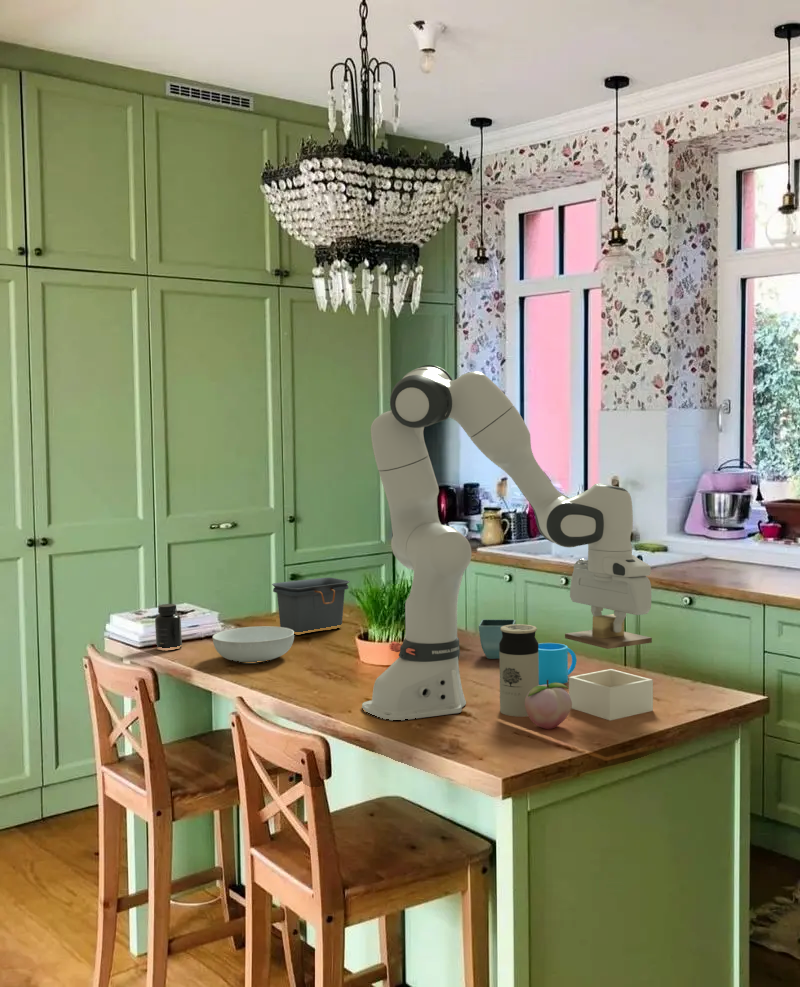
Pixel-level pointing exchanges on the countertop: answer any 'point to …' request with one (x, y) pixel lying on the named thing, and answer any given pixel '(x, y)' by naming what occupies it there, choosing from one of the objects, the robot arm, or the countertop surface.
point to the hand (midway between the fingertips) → (608, 630)
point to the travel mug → (517, 667)
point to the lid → (607, 635)
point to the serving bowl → (253, 643)
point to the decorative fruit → (548, 705)
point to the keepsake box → (611, 694)
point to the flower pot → (492, 635)
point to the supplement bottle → (168, 627)
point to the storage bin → (311, 603)
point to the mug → (554, 663)
